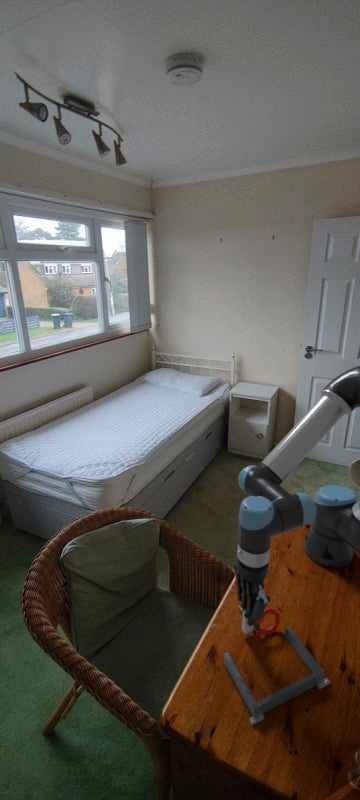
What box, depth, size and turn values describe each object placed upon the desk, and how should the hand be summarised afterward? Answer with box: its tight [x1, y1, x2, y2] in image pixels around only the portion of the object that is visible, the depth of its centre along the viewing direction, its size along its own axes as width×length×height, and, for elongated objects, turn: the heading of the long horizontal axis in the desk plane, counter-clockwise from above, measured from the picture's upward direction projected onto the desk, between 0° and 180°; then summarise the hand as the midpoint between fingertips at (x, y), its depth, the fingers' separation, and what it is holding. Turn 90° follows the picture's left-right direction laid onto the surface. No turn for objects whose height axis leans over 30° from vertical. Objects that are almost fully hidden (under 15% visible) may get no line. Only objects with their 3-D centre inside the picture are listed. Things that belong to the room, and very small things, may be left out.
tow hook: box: [237, 605, 281, 638], centre depth 103 cm, size 7×10×7 cm
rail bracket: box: [223, 625, 331, 726], centre depth 89 cm, size 21×14×3 cm, turn 113°
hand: (247, 629), depth 98 cm, fingers closed
